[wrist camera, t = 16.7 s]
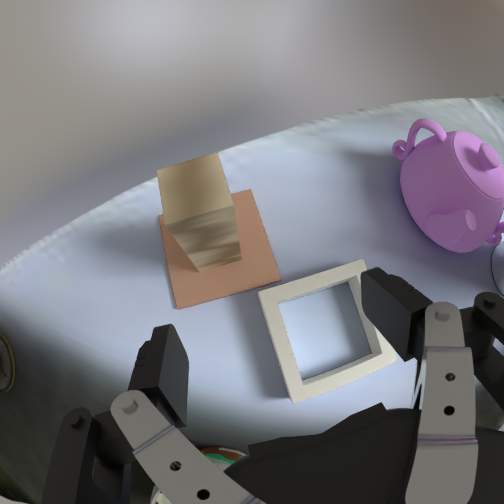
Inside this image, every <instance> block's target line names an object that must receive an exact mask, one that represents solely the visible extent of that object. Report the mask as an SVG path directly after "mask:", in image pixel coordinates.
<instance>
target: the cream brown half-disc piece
mask: <svg viewBox="0 0 504 504" xmlns="http://www.w3.org/2000/svg"><path fill="white" fill-rule="evenodd" d="M199 451H200V452H201V453H202V454H203V455H204V456H205V457H206V458H208V459H209V460H210V461H211V462H212V463H213V464H214V465H215V466H217V467H218V468H219V469H220V470H221V471H222V472H223V471H224V470H225V469H226V468H227V467H229V466H230V465H231V464H233V463H234V462H236V461H237V460H239V459H241V458H242V457H244V456H246V452H243V451H241V450H239V449H236V448H231V447H225V446H210V447H206V448H203V449H200V450H199ZM150 504H171V503H170V501H169V500H168V499H167V498H166V497H165V495H164V494H163V493H162V492H161V491H160V489H159V488H158V487H157V486H156V484H155V486H154V488H153V492H152V496H151V500H150Z"/></svg>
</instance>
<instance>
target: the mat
mask: <svg viewBox="0 0 504 504" xmlns="http://www.w3.org/2000/svg"><path fill="white" fill-rule="evenodd" d="M230 195H231V198H232V201H233V204H234V210H235V217H236V223H237V230H238V236H239V243H240V249H241V256H242V260H240V261H236V262H233V263H229V264H226V265H222V266H219V267H215V268H212V269H208V270H205V271H201V272H199V271H198V269H197V268H196V267H195V265H194V264H193V263H192V261H191V260H190V258H189V257H188V256H187V254H186V253H185V252H184V250H183V249H182V247H181V246H180V245H179V243H178V242H177V241H176V239H175V238H174V236H173V235H172V233H171V232H170V231H169V229H168V228H167V226H166V225H165V219H164V214H162V215H159V220H160V226H161V232H162V238H163V243H164V249H165V254H166V259H167V264H168V269H169V274H170V279H171V283H172V288H173V292H174V297H175V301H176V305H177V309H178V310H179V309H182V308H186V307H190V306H194V305H197V304H201V303H205V302H208V301H212V300H215V299H219V298H223V297H226V296H230V295H233V294H237V293H240V292H244V291H247V290H251V289H254V288H257V287H261V286H264V285H268V284H271V283H274V282H278V281H281V277H280V274H279V271H278V268H277V265H276V262H275V259H274V256H273V253H272V250H271V247H270V244H269V241H268V238H267V235H266V232H265V229H264V226H263V224H262V221H261V218H260V215H259V212H258V209H257V206H256V203H255V200H254V197H253V195H252V192H251V189H249V190H245V191H241V192H238V193H234V194H230Z"/></svg>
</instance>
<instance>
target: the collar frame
mask: <svg viewBox="0 0 504 504" xmlns="http://www.w3.org/2000/svg"><path fill="white" fill-rule="evenodd" d="M366 270H367V267H366V264H365V262H364V259H363V258H362V259H360V260H357V261H354V262H351V263H348V264H345V265H342V266H339V267H336V268H333V269H329V270H326V271H323V272H320V273H317V274H314V275H311V276H308V277H304V278H301V279H298V280H295V281H292V282H288V283H285V284H282V285H279V286H275V287H272V288H269V289H265V290H262V291H259V292H258V299H259V302H260V305H261V308H262V312H263V315H264V318H265V321H266V325H267V328H268V331H269V334H270V337H271V341H272V344H273V347H274V350H275V354H276V357H277V360H278V363H279V366H280V370H281V373H282V376H283V379H284V382H285V385H286V389H287V392H288V395H289V398H290V400H291V401H292V403H293V404H294V403H297V402H300V401H303V400H306V399H309V398H312V397H314V396H317V395H320V394H323V393H325V392H328V391H331V390H333V389H336V388H338V387H341V386H343V385H346V384H348V383H350V382H353V381H355V380H357V379H360V378H362V377H364V376H366V375H369V374H371V373H373V372H375V371H377V370H379V369H381V368H383V367H385V366H388V365H390V364H392V363H394V362H396V361H397V357H396V353H395V350H394V348H393V347H392V346H391V345H390V344H389V343H388V341H387V340H386V339H385V338H384V337H383V335H382V334H381V333H380V332H379V331H378V330H377V328H376V327H375V326H374V325H373V324H372V323H371V322H370V320H369V319H368V318H367V317H366V315H365V314H364V312H363V309H362V303H361V280H360V276H361V273H362V272H363V271H366ZM345 282H348V283H349V286H350V289H351V291H352V294H353V297H354V300H355V303H356V306H357V309H358V312H359V315H360V318H361V321H362V324H363V327H364V330H365V333H366V336H367V339H368V343H369V346H370V349H371V352H372V353H371V354H369V355H367V356H364V357H362V358H360V359H358V360H355V361H353V362H350V363H348V364H346V365H343V366H341V367H338V368H336V369H333V370H330V371H328V372H325V373H322V374H320V375H317V376H314V377H311V378H309V379H306V380H303V381H302V379H301V376H300V373H299V370H298V367H297V363H296V360H295V357H294V354H293V351H292V348H291V344H290V341H289V338H288V335H287V332H286V328H285V325H284V322H283V319H282V316H281V313H280V310H279V306H278V304H281V303H284V302H288V301H291V300H294V299H297V298H300V297H303V296H306V295H309V294H312V293H315V292H318V291H321V290H324V289H327V288H330V287H333V286H336V285H339V284H342V283H345Z"/></svg>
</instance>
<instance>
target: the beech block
mask: <svg viewBox="0 0 504 504" xmlns="http://www.w3.org/2000/svg"><path fill="white" fill-rule="evenodd" d="M157 175H158V182H159V189H160V195H161V202H162V208H163V214H164V219H165V225H166V226H167V228H168V229H169V231H170V232H171V233H172V235H173V236H174V238H175V239H176V241H177V242H178V243H179V245H180V246H181V247H182V249H183V250H184V252H185V253H186V254H187V256H188V257H189V258H190V260H191V261H192V263H193V264H194V265H195V267H196V268H197V269H198V271H199V272H201V271H205V270H208V269H212V268H215V267H219V266H222V265H226V264H229V263H233V262H236V261H240V260H242V256H241V249H240V243H239V236H238V230H237V223H236V217H235V210H234V204H233V201H232V198H231V195H230V191H229V188H228V185H227V182H226V178H225V175H224V172H223V169H222V166H221V162H220V159H219V156H218V153H213V154H210V155H206V156H202V157H199V158H196V159H192V160H189V161H185V162H182V163H179V164H175V165H172V166H169V167H166V168H163V169H160V170H157Z"/></svg>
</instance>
